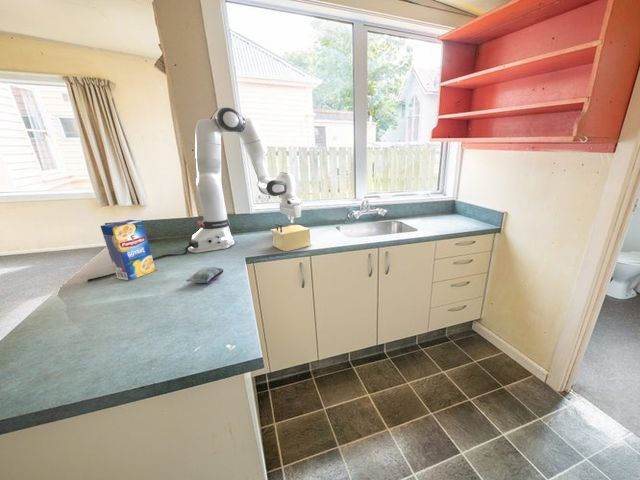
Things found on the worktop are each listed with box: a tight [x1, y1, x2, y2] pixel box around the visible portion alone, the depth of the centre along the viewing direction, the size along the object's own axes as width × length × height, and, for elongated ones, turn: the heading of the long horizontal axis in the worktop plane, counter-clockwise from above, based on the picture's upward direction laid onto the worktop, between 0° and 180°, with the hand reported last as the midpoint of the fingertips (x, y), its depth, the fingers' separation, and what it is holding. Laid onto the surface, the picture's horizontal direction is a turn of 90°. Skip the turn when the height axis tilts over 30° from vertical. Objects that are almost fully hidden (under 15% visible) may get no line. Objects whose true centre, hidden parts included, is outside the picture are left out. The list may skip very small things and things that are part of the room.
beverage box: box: [100, 219, 157, 281], centre depth 121 cm, size 7×11×22 cm, turn 164°
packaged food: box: [185, 266, 224, 284], centre depth 119 cm, size 9×12×5 cm
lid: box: [270, 222, 311, 236], centre depth 160 cm, size 16×13×5 cm
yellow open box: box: [271, 230, 312, 252], centre depth 162 cm, size 16×13×9 cm
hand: (291, 222), depth 184 cm, fingers closed
